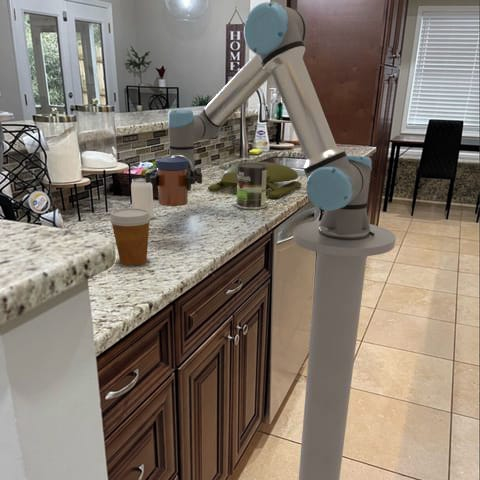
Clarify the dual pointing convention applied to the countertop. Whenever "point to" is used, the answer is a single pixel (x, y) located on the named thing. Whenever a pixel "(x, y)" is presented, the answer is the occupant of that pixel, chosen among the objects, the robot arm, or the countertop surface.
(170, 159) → the lid
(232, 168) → the spaceship
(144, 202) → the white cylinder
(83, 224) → the countertop surface
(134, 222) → the disposable coffee cup
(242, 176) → the coffee can
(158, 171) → the jar
